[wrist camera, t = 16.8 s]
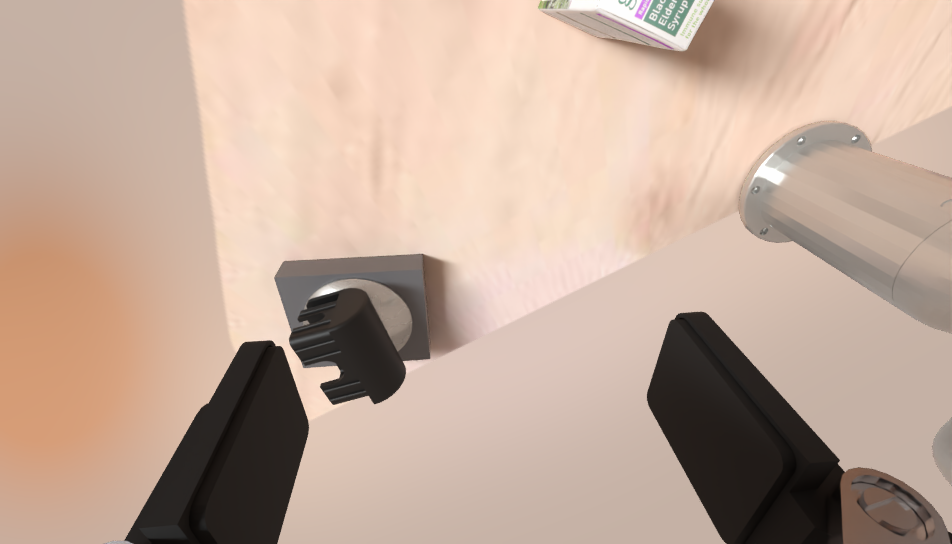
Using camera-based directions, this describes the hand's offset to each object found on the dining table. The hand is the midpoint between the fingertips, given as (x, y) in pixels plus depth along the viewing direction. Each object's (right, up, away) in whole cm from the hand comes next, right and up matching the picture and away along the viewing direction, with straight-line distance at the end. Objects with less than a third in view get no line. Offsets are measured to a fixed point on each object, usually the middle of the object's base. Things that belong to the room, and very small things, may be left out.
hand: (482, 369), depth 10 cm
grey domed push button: (-13, -1, +35) cm, 38 cm away
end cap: (-12, -3, +33) cm, 35 cm away
